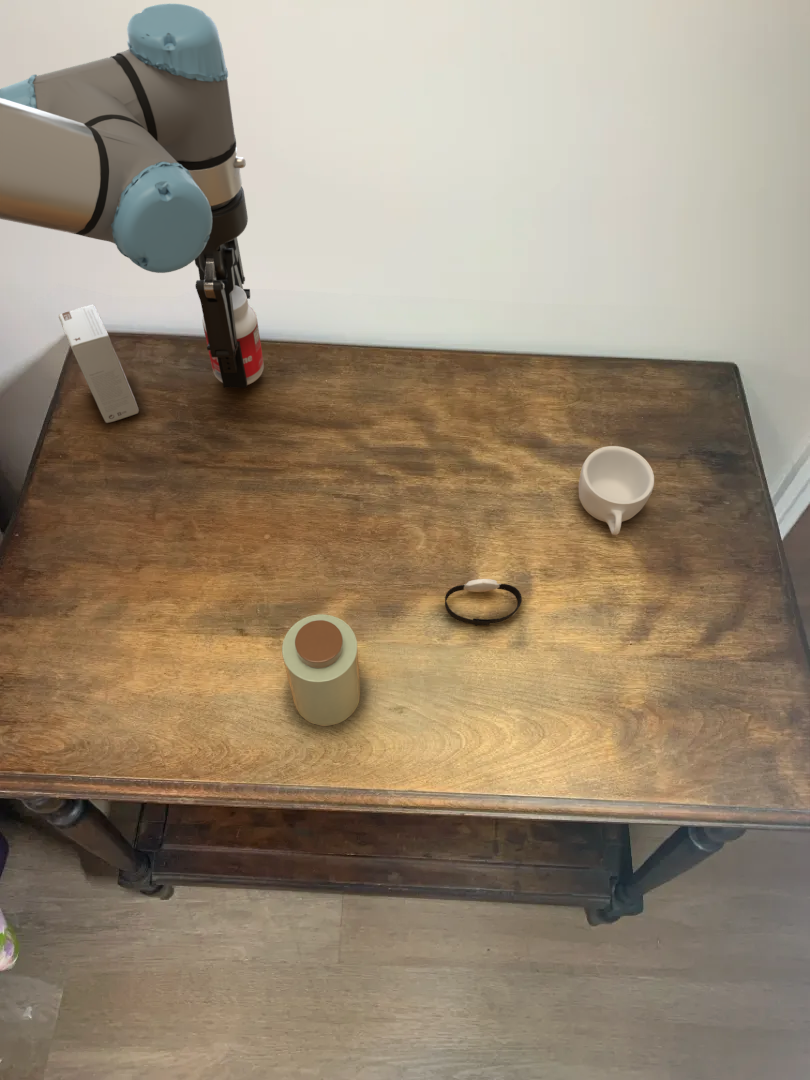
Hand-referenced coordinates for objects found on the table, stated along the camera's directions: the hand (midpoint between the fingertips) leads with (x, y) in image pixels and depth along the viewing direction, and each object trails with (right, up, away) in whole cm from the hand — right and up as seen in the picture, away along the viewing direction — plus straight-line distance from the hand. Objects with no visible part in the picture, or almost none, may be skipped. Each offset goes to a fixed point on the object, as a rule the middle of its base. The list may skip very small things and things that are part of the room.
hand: (238, 364), depth 98 cm
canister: (+13, -36, -21) cm, 44 cm away
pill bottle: (0, -1, +1) cm, 1 cm away
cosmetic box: (-15, -5, -1) cm, 15 cm away
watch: (+28, -28, -15) cm, 43 cm away
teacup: (+43, -18, -8) cm, 47 cm away
